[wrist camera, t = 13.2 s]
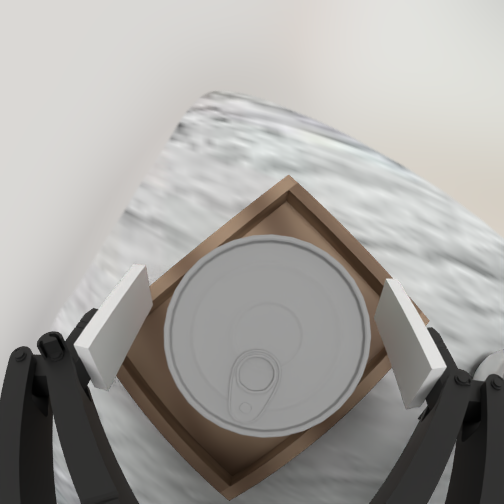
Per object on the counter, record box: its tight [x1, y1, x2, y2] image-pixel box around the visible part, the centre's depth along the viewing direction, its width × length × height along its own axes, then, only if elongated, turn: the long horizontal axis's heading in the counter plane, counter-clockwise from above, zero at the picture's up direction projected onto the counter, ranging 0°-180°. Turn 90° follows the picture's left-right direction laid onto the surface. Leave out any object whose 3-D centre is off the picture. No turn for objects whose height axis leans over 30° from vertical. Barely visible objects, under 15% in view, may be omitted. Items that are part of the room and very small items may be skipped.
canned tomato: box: [164, 234, 371, 438], centre depth 16 cm, size 8×8×11 cm
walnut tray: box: [116, 175, 429, 501], centre depth 20 cm, size 20×16×2 cm
